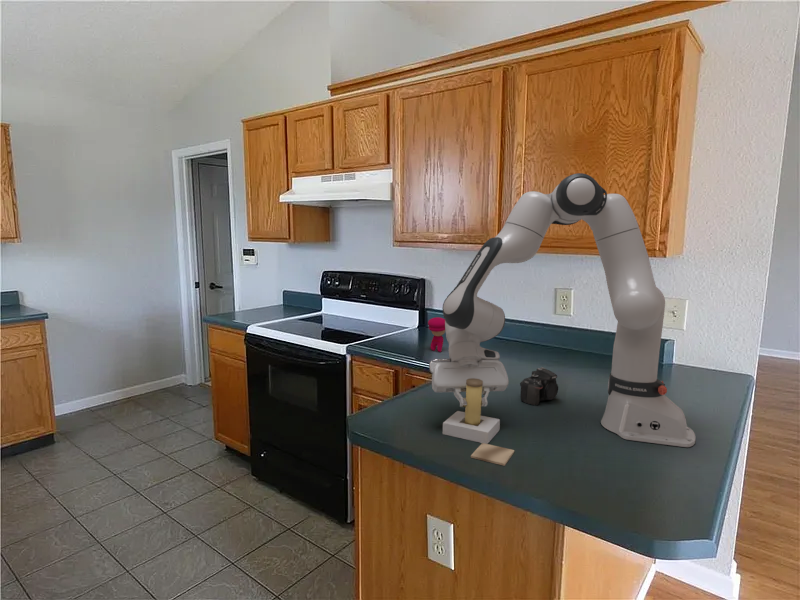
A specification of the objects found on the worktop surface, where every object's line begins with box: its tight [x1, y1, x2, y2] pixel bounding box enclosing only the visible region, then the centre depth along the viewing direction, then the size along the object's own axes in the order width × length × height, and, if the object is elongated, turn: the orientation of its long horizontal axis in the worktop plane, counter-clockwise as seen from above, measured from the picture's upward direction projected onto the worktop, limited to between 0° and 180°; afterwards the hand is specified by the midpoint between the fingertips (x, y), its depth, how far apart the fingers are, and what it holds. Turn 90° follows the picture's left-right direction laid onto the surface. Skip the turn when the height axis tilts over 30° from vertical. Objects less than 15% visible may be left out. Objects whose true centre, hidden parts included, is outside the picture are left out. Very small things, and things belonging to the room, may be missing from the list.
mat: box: [470, 443, 515, 467], centre depth 114 cm, size 8×8×1 cm
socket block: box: [442, 410, 501, 444], centre depth 127 cm, size 12×10×3 cm
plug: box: [464, 378, 483, 426], centre depth 126 cm, size 4×4×14 cm
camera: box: [519, 366, 559, 406], centre depth 153 cm, size 13×10×10 cm
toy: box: [427, 316, 446, 353], centre depth 213 cm, size 8×8×15 cm
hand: (474, 405), depth 125 cm, fingers closed on plug, 4 cm apart
